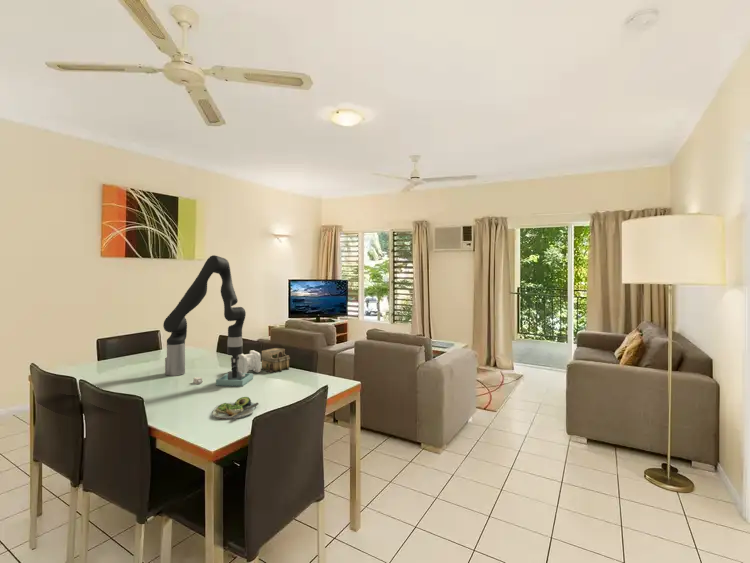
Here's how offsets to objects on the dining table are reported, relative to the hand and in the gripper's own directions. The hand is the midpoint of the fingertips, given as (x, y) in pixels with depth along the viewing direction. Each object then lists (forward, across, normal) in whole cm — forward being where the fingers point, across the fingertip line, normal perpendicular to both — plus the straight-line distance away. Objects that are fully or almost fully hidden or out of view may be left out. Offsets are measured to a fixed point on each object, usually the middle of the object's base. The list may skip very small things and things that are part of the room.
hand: (235, 375), depth 205 cm
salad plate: (+4, -45, -3) cm, 45 cm away
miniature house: (+4, +23, -21) cm, 31 cm away
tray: (+3, 0, 0) cm, 3 cm away
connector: (+3, 0, 0) cm, 3 cm away
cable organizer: (+4, +19, -6) cm, 20 cm away
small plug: (+4, +4, +19) cm, 19 cm away
